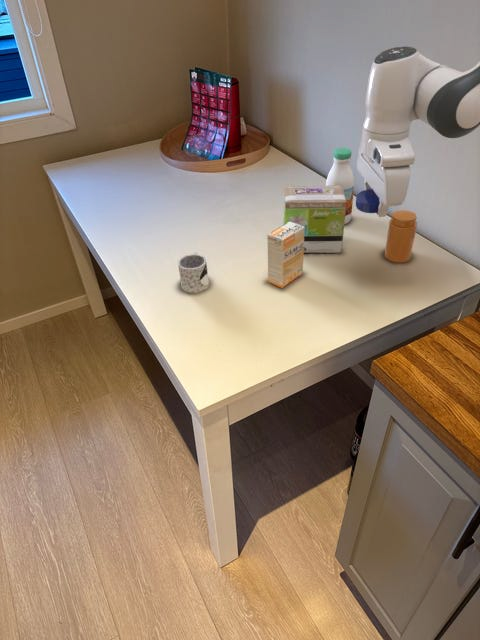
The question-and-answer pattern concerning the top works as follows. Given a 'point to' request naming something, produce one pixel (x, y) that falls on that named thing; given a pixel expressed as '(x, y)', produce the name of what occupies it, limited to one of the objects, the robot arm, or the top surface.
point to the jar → (401, 236)
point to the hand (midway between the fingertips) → (375, 207)
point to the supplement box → (285, 254)
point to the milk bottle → (343, 178)
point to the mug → (193, 273)
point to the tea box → (317, 215)
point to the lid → (367, 201)
